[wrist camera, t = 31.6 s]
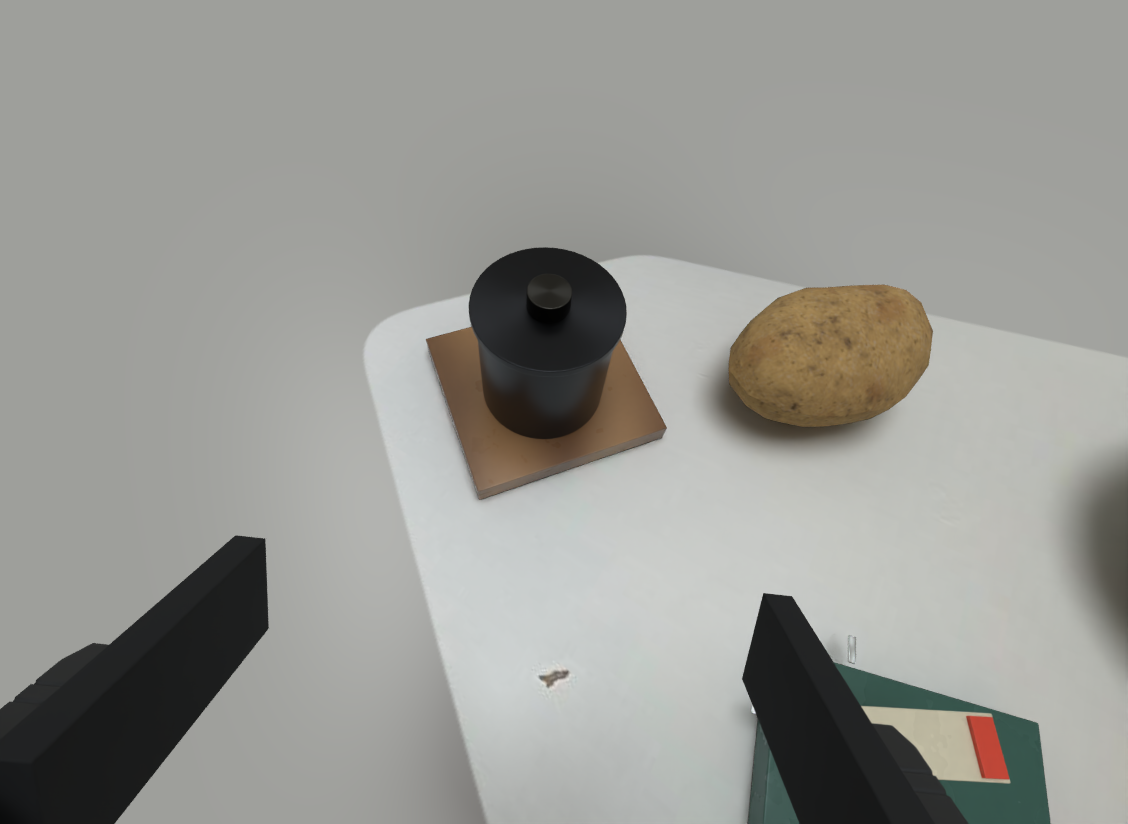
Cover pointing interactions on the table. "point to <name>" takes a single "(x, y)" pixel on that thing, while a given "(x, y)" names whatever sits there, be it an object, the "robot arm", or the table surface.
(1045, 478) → the table surface
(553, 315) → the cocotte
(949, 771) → the cream juice carton
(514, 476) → the board
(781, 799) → the green rectangular slab
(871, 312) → the potato
